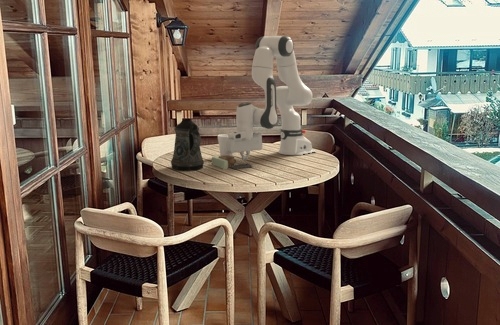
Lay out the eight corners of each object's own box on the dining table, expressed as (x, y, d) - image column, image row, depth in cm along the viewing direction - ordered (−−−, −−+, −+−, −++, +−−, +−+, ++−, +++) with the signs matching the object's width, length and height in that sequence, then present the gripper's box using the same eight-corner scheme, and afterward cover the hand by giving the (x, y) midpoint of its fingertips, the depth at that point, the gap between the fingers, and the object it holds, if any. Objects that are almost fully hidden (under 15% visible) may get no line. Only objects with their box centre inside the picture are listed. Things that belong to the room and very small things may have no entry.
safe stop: (215, 163, 266) (215, 156, 265) (227, 168, 254) (227, 160, 253) (212, 164, 265) (211, 156, 264) (224, 169, 253) (224, 161, 252)
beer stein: (183, 163, 267) (182, 116, 262) (214, 166, 258) (214, 118, 253) (164, 169, 253) (162, 119, 248) (196, 173, 244) (195, 122, 239)
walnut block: (228, 164, 266) (228, 154, 265) (234, 166, 260) (234, 156, 259) (218, 165, 263) (218, 155, 262) (224, 167, 257) (224, 157, 256)
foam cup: (232, 160, 275) (232, 136, 272) (216, 159, 277) (216, 136, 274) (236, 157, 284) (236, 134, 281) (220, 156, 286) (220, 133, 283)
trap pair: (232, 160, 275) (232, 158, 275) (251, 167, 257) (251, 165, 257) (215, 162, 270) (215, 160, 270) (234, 169, 252) (234, 167, 252)
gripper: (258, 131, 272) (258, 156, 274) (225, 134, 261) (225, 160, 264) (264, 132, 266) (264, 158, 269) (230, 136, 256) (231, 162, 259)
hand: (244, 159), depth 267 cm, fingers closed
